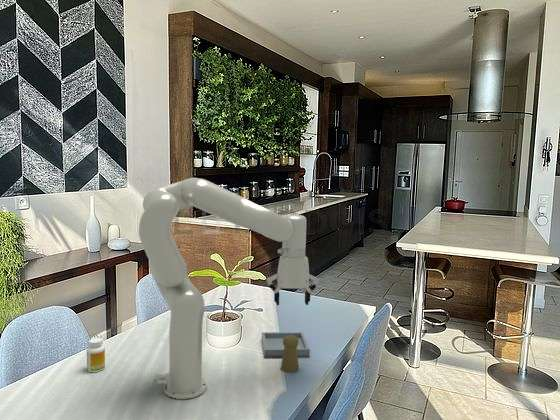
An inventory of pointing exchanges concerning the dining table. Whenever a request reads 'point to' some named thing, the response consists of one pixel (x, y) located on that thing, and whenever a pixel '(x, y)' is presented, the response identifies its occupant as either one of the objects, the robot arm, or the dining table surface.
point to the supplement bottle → (95, 355)
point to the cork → (290, 354)
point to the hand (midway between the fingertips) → (292, 303)
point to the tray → (275, 346)
